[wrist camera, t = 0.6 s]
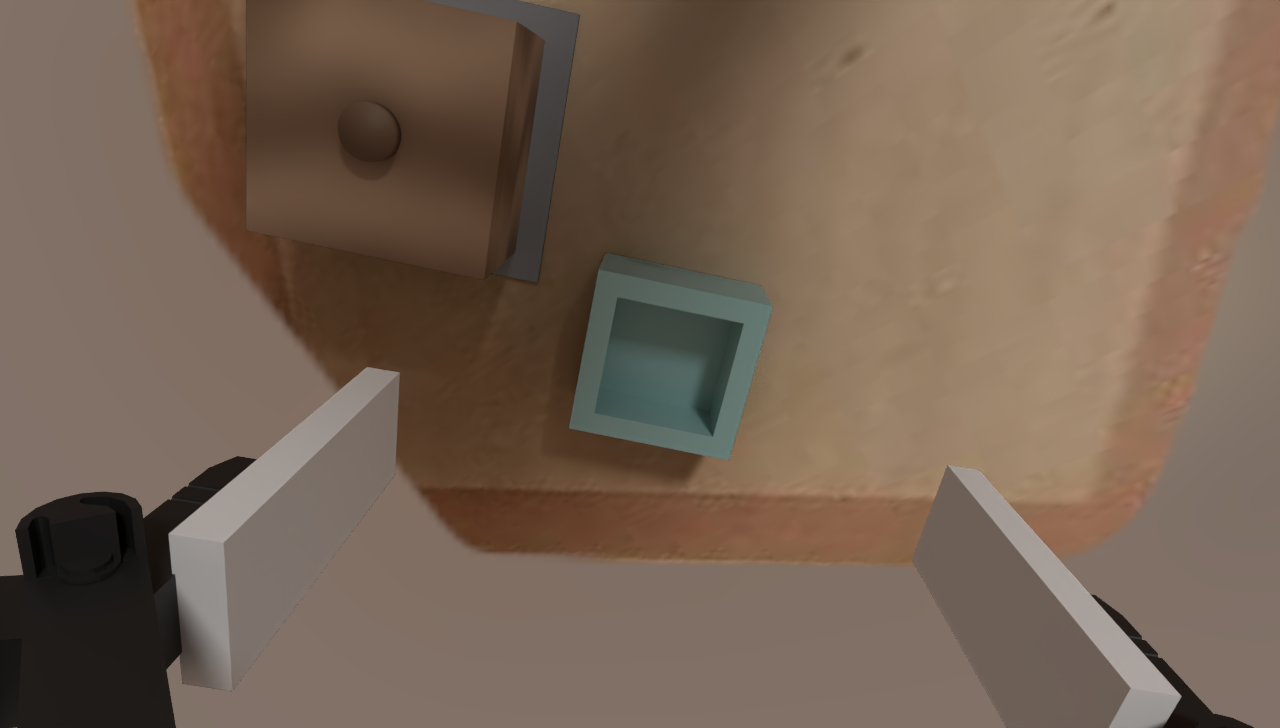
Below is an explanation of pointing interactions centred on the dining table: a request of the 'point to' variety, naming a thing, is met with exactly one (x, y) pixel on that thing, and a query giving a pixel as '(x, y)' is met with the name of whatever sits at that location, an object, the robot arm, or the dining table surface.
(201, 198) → the dining table surface
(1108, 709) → the robot arm
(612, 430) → the open square box
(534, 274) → the mat
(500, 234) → the lid
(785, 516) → the dining table surface
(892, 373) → the dining table surface
